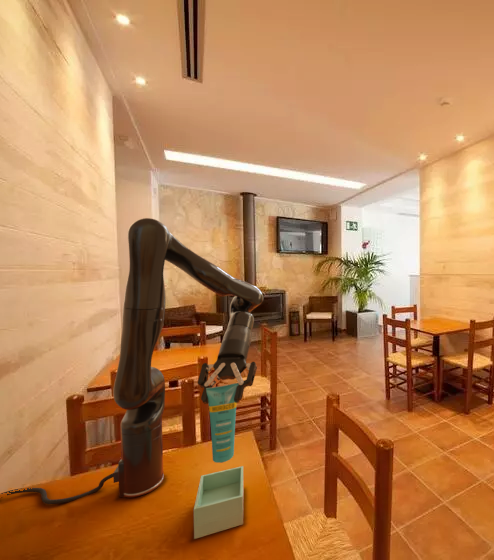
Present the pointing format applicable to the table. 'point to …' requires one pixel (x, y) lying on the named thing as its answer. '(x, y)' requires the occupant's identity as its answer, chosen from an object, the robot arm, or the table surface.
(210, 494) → the open pale green box
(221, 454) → the tube
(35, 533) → the table surface
